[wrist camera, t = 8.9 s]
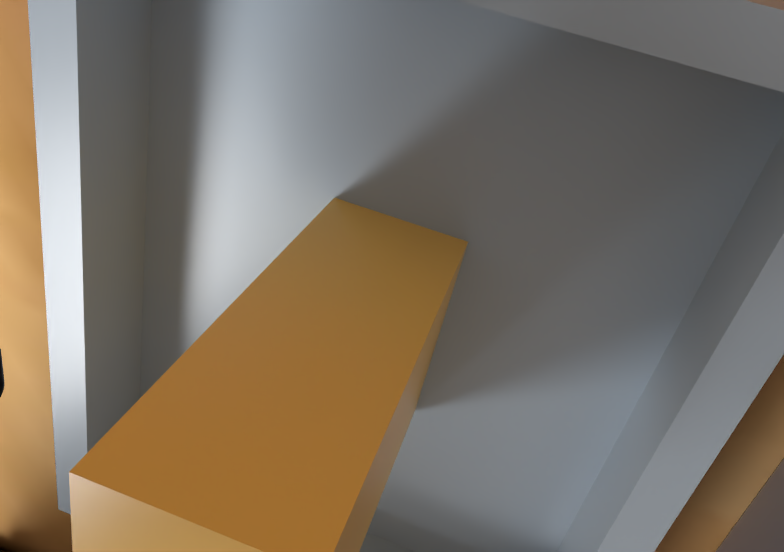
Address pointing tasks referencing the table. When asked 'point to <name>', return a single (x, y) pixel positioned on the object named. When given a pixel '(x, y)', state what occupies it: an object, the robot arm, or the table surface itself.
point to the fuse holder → (761, 520)
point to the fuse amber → (280, 402)
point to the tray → (438, 228)
